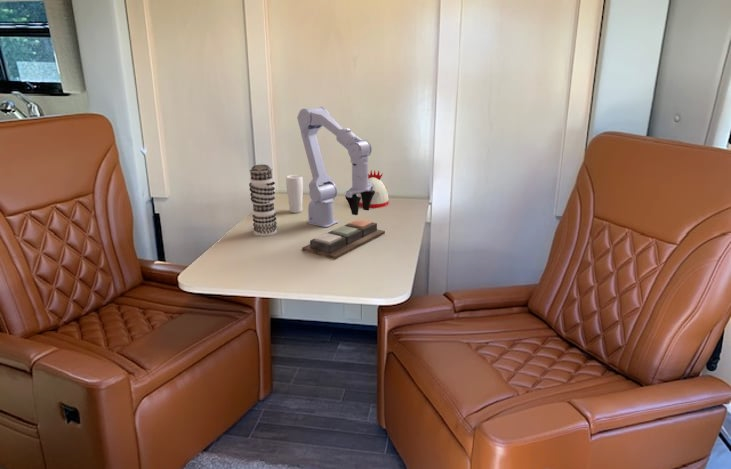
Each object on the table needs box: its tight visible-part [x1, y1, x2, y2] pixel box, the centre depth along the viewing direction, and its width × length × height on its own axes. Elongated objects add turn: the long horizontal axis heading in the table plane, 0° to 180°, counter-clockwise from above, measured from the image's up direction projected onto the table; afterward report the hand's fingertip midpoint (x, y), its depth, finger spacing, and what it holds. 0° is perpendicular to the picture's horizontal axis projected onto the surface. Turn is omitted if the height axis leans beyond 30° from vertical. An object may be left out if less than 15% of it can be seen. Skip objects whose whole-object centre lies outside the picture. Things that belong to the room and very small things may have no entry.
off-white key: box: [314, 232, 342, 244], centre depth 175 cm, size 6×6×2 cm
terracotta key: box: [347, 218, 374, 229], centre depth 190 cm, size 6×6×2 cm
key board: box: [301, 222, 386, 260], centre depth 183 cm, size 14×30×4 cm, turn 146°
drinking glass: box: [285, 174, 304, 214], centre depth 216 cm, size 7×7×15 cm
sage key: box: [331, 225, 358, 236], centre depth 183 cm, size 6×6×2 cm
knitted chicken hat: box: [357, 169, 390, 209], centre depth 227 cm, size 14×14×15 cm
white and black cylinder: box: [248, 164, 278, 237], centre depth 190 cm, size 9×9×25 cm
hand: (360, 212), depth 188 cm, fingers open, 6 cm apart
